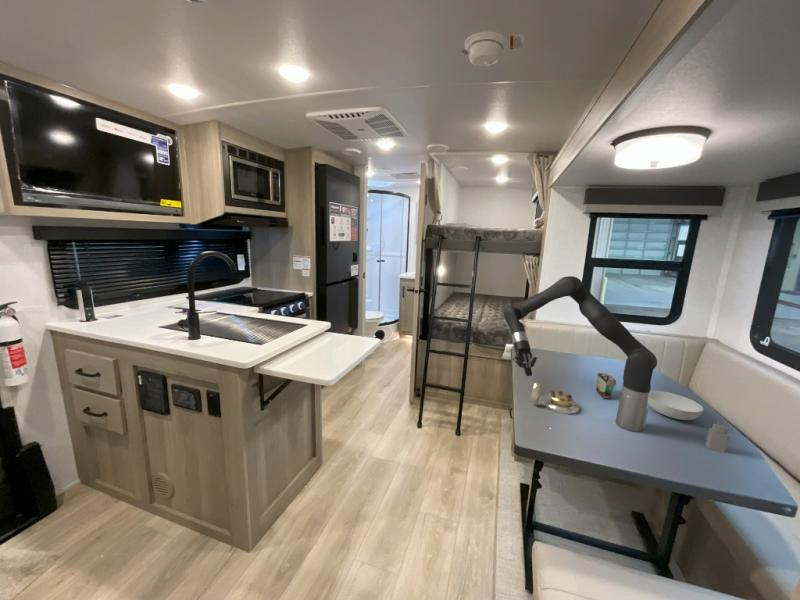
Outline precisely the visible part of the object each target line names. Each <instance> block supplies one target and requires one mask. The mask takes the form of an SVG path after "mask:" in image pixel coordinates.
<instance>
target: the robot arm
mask: <svg viewBox="0 0 800 600" xmlns="http://www.w3.org/2000/svg"><path fill="white" fill-rule="evenodd" d="M564 297H570V298H571V299H573V300H574V301H575V302H576V304H578V306H579V307H580V308H581V310H582V312H583V315H585V318H586V319H587V321H588V322H589V324H590V325H591V326H592V327H593V328H594V329H595V330H596V331H597V332H598V333H599V334H600V335H601V336H602V337H604V338H606V340H607V341H610V342H612V343H613V344H615V345H616V346H617V347H618V348H619V349H620V350H621V351H622V352H623V353H624V354H625V355H626V357H627V358H626V360H625V364H624V370H623V375H622V378H623V379H622V386H621V387H622V388H621V392H620V398H619V402H618V406H617V411H616V416H615V424H616V425H617V426H618V427H620V428H622V429H624V430H627V431H630V432H641V431H644V430H645V426H646V421H647V419H648V418H647V417H648V413H649V408H648V407H647V406H648V403H647V402H648V397H649V393H650V391H651V383H652V382H651V381H652V377H653V371H654V370H655V368H656V367H657V365H658V360H657V357H656V355H655V354H654V353H653V352H652V351H651V350H650V349H649V348H647V347H646V346H645V345H644V344H643V343H641V342H640V341H639V340H637V338H636V337H635V336H633V334H632V333H630V331H629V330H628V329H627V328H626V327H625V326H624V324H622V322H621V321H620V320H619V319H618V318H617V317H616V316H615V315H614V314H613V313H612V312H611V310H609V309H608V308H607V307H606V306H605V305H604V304H602V302H601V301H599V300H598V299H597V298H596V297H595V296H594V295H593V294H592V293H591V292H590V290H589V289H588V287H587V286H586V285H585V284H584V283H583V281H582V280H581V279H580V278H578V277H577V276H573V275H571V276H570V275H569V276H563V277H561V278H560V279H558V280H557V281H556V282H554V283H553V284H552V285H550V286H549V287H547V288H546V289H544V290H542V291H540V292H538V293H536V294H534V295H532V296H530V297H528V298H526V299H524V300H523V301H521V302H520V303H519V306H518V307H516V306H514V305H507V306H505V308H504V310H503V316H504V319H505V322H506V323H507V326H508V327H509V329H510V334H511V341H512V345H513V348H514V352H515V356H514V357H513V358H512V360H513V361H514V362H515V363H516V365H517V366H518V367H519V368H522V369H523V370H524V374H525V375H526V377H531V376H532V375H533V372H532V368H533V367H535V364H536V362H537V360H538V357H537V356H533V354H532V352H531V345H530V341H529V338H528V335H527V332H526V329H525V325H524V324H523V322H521V321H520V320H522V319H524V318H526V317H527V316H528V315H529V314H531V313H533V312H535V311H537V310H539V309H541V308H543V307H544V306H545V305H547V304H549V303H550V302H553V301H555V300H558V299H560V298H564Z"/></svg>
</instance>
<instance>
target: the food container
mask: <svg viewBox="0 0 800 600" xmlns="http://www.w3.org/2000/svg"><path fill="white" fill-rule="evenodd" d="M616 385H617V380H616V378H615V377H614V376H612V375H610V374H608V373H603V372H597V379H596V386H595V387H596V388H595V391H597V392H596V393H597V394H598V396H600V397H601V399H602V398H603V399H602V400H609V399H611V397H612V394H613V392H614V388H615V386H616Z"/></svg>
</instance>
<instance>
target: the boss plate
mask: <svg viewBox="0 0 800 600" xmlns="http://www.w3.org/2000/svg"><path fill="white" fill-rule="evenodd" d="M549 394H550V393H548V394H544V395H542V397H549ZM541 404H542V405H543V406H544V407H545V408H547V409H548V410H550V411H553V412H555V413H558V414H561V415H562V414H563V415H577V414H578V413H579V411H580V405H579V404H578V402H577V401H575V400H573V404H572V406H571V407H561V406H557V405H555V404H553V403H551V402H541Z"/></svg>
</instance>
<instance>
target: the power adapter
mask: <svg viewBox="0 0 800 600" xmlns="http://www.w3.org/2000/svg"><path fill="white" fill-rule="evenodd" d="M717 420H718V421H717V423H713V424H712V427H709V429H708V431H707V435H706V438H705V444H704V446H705V448H707V449H709V450H713V451H716V452H719V453H726V450H727V446H728V442H729V439H730V436H731V435H730V433H729V432H728V431H729V427H728V426H726V423H727V420H725V421H724V423H723V424H719V423H720V419H717Z"/></svg>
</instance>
